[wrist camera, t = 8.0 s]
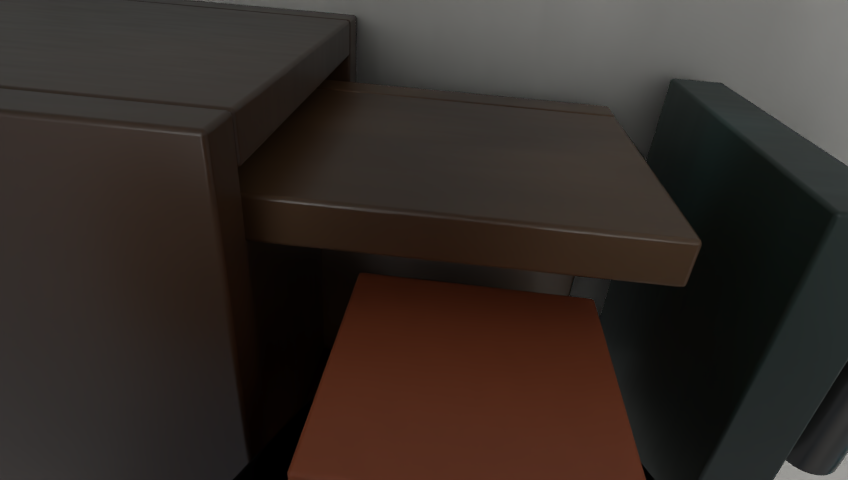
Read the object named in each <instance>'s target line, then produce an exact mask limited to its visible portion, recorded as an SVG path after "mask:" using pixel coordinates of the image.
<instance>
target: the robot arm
mask: <svg viewBox="0 0 848 480" xmlns="http://www.w3.org/2000/svg"><path fill="white" fill-rule="evenodd" d="M315 394H316V393H315ZM315 394H314V395H313V396H312V397H311V398H310V399H309V401H308V402H307V403H306V404H305V405H304V406H303V407H302V408H301V409H300V410H299V411H298V412H297V413H296V414H295V415H294V416H293V417H292V418H291V419H290V420H289V421H288V422H287V423H286V425H285V426H284V427H283V428H282V429H281V430H280V431H279V432H278V433H277V434H276V435H275V436H274V437H273V438H272V439H271V440H270V441H269V442H268V443H267V444H266V445H265V446H264V447H263V449H262V450H261V451H260V452H259V453H258V454H257V455H256V456H255V457H254V458H253V459H252V460H251V461H250V462H249V463H248V464H247V465H246V466H245V467H244V468H243V469H242V470H241V471H240V473H239V474H238V475H237V476H236V477H235V478H234V479H233V480H288V474H287V472H288V469H289V467H290V464H291V461H292V458H293V455H294V453H295V450H296V447H297V444H298V442H299V439H300V436H301V433H302V430H303V428H304V425H305V422H306V419H307V417H308V414H309V411H310V408H311V405H312V403H313V400H314V397H315ZM641 464H642V463H641ZM642 468H643V471H644V475H645V478H646V480H654V478H653V477H652V476H651V474H650V473H649V472H648V471H647V469H646V468H645V467H644V466H643V464H642Z"/></svg>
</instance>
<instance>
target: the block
mask: <svg viewBox="0 0 848 480" xmlns="http://www.w3.org/2000/svg"><path fill="white" fill-rule="evenodd" d="M287 474H288V480H646V478H645V475H644V471H643V468H642V464H641V461H640V457H639V454H638V450H637V447H636V443H635V440H634V437H633V433H632V430H631V426H630V423H629V419H628V416H627V412H626V409H625V405H624V402H623V399H622V395H621V392H620V388H619V385H618V381H617V378H616V374H615V371H614V367H613V364H612V361H611V357H610V354H609V350H608V347H607V343H606V340H605V336H604V333H603V329H602V326H601V323H600V319H599V316H598V312H597V309H596V305H595V302H594V300H593V299H589V298H581V297H572V296H563V295H554V294H546V293H537V292H528V291H520V290H511V289H502V288H493V287H485V286H476V285H467V284H459V283H450V282H441V281H432V280H424V279H415V278H406V277H398V276H389V275H380V274H371V273H360V274H359V275H358V278H357V281H356V283H355V286H354V289H353V292H352V294H351V297H350V300H349V303H348V306H347V308H346V311H345V314H344V317H343V319H342V322H341V325H340V328H339V331H338V333H337V336H336V339H335V342H334V344H333V347H332V350H331V353H330V356H329V358H328V361H327V364H326V367H325V369H324V372H323V375H322V378H321V381H320V383H319V386H318V389H317V392H316V394H315V397H314V400H313V403H312V405H311V408H310V411H309V414H308V417H307V419H306V422H305V425H304V428H303V430H302V433H301V436H300V439H299V442H298V444H297V447H296V450H295V453H294V455H293V458H292V461H291V464H290V467H289V469H288V472H287Z"/></svg>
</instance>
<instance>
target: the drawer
mask: <svg viewBox="0 0 848 480" xmlns="http://www.w3.org/2000/svg"><path fill="white" fill-rule="evenodd" d="M238 176H239V185H240V194H241V203H242V212H243V221H244V230H245V239H246V248H247V257H248V266H249V275H250V284H251V293H252V303H253V312H254V321H255V330H256V339H257V348H258V357H259V366H260V375H261V384H262V393H263V402H264V411H265V420H266V429H267V438H268V442H269V441H270V440H271V439H272V438H273V437H274V436H275V435H276V434H277V433H278V432H279V431H280V430H281V429H282V428H283V427H284V426H285V425H286V423H287V422H288V421H289V420H290V419H291V418H292V417H293V416H294V415H295V414H296V413H297V412H298V411H299V410H300V409H301V408H302V407H303V406H304V405H305V404H306V403H307V402H308V401H309V399H310V398H311V397H312V396H313V395H314V394H315V393H316V392H317V389H318V386H319V383H320V381H321V378H322V375H323V372H324V369H325V367H326V364H327V361H328V358H329V356H330V353H331V350H332V347H333V344H334V342H335V339H336V336H337V333H338V331H339V328H340V325H341V322H342V319H343V317H344V314H345V311H346V308H347V306H348V303H349V300H350V297H351V294H352V292H353V289H354V286H355V283H356V281H357V278H358V275H359V274H360V273H371V274H380V275H389V276H398V277H406V278H415V279H424V280H432V281H441V282H450V283H459V284H467V285H476V286H485V287H493V288H502V289H511V290H520V291H528V292H537V293H546V294H554V295H563V296H569V295H570V291H571V288H572V284H573V280H574V276H581V277H590V278H599V279H609V280H611V281H610V285H609V288H608V291H607V295H606V298H605V301H604V305H603V308H602V311H601V315H600V318H599V319H600V323H601V326H602V329H603V333H604V336H605V340H606V343H607V347H608V350H609V354H610V357H611V361H612V364H613V367H614V371H615V374H616V378H617V381H618V385H619V388H620V392H621V395H622V399H623V402H624V405H625V409H626V412H627V416H628V419H629V423H630V426H631V430H632V433H633V437H634V440H635V443H636V447H637V450H638V454H639V457H640V461H641V463H642V464H643V466H644V467H645V468H646V469H647V471H648V472H649V473H650V474H651V476H652V477H653V478H654V480H773V479H774V478H775V476H776V474H777V473H778V471H779V470H780V468H781V466H782V465H783V463H784V462H785V460H786V461H788V462H789V463H790V464H792V465H793V466H795V467H796V468H798V469H800V470H802V471H805V472H807V473H810V474H814V475H828V474H831V473H833V472H834V471H835V470H836V469H837V467H838V466H839V465H840V463H841V462H842V460H843V459H844V458H845V456H846V455H847V453H848V166H846V165H845V164H843V163H842V162H840V161H839V160H837V159H836V158H834V157H833V156H831V155H830V154H828V153H827V152H825V151H824V150H822V149H821V148H819V147H818V146H816V145H815V144H813V143H812V142H810V141H809V140H807V139H805V138H804V137H802V136H801V135H799V134H798V133H796V132H795V131H793V130H792V129H790V128H789V127H787V126H786V125H784V124H783V123H781V122H780V121H778V120H777V119H775V118H774V117H772V116H771V115H769V114H768V113H766V112H765V111H763V110H762V109H760V108H759V107H757V106H756V105H754V104H753V103H751V102H749V101H748V100H746V99H745V98H743V97H742V96H740V95H739V94H737V93H736V92H734V91H733V90H731V89H730V88H728V87H727V86H725V85H724V84H722V83H717V82H706V81H695V80H684V79H671V81H670V84H669V87H668V91H667V94H666V97H665V101H664V104H663V107H662V111H661V114H660V117H659V121H658V124H657V127H656V131H655V134H654V137H653V141H652V144H651V147H650V151H649V154H648V158H647V161H645V159H644V158H643V156H642V155H641V153H640V152H639V151H638V149H637V148H636V146H635V145H634V144H633V142H632V141H631V139H630V138H629V136H628V135H627V134H626V132H625V131H624V129H623V128H622V126H621V125H620V124H619V122H618V121H617V119H616V118H615V116H614V115H613V113H612V112H611V110H610V109H609V107H607V106H598V105H587V104H577V103H566V102H556V101H545V100H535V99H524V98H514V97H503V96H493V95H482V94H472V93H461V92H450V91H440V90H429V89H419V88H408V87H398V86H387V85H377V84H366V83H356V82H345V81H335V80H324V81H323V82H322V83H321V84H320V85H319V86H318V87H317V88H316V89H315V90H314V91H313V92H312V93H311V94H310V95H309V96H308V97H307V98H306V99H305V101H304V102H303V103H302V104H301V105H300V106H299V107H298V108H297V109H296V110H295V111H294V112H293V113H292V114H291V115H290V116H289V117H288V118H287V119H286V120H285V121H284V122H283V123H282V124H281V125H280V126H279V127H278V128H277V129H276V130H275V131H274V132H273V133H272V134H271V135H270V136H269V137H268V138H267V140H266V141H265V142H264V143H263V144H262V145H261V146H260V147H259V148H258V149H257V150H256V151H255V152H254V153H253V154H252V155H251V156H250V157H249V158H248V159H247V160H246V161H245V162H244V163H243V164H242V165H241V166H239V167H238Z"/></svg>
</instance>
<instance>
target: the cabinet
mask: <svg viewBox="0 0 848 480" xmlns="http://www.w3.org/2000/svg"><path fill="white" fill-rule="evenodd" d="M324 80H335V81H345V82H356V16H354V15H346V14H334V13H323V12H312V11H301V10H290V9H279V8H268V7H257V6H246V5H235V4H224V3H213V2H202V1H191V0H0V480H233V479H234V478H235V477H236V476H237V475H238V474H239V473H240V471H241V470H242V469H243V468H244V467H245V466H246V465H247V464H248V463H249V462H250V461H251V460H252V459H253V458H254V457H255V456H256V455H257V454H258V453H259V452H260V451H261V450H262V449H263V447H264V446H265V445H266V444H267V443H268V438H267V429H266V420H265V411H264V402H263V393H262V384H261V375H260V366H259V357H258V348H257V339H256V330H255V321H254V312H253V303H252V293H251V284H250V275H249V266H248V257H247V248H246V239H245V230H244V221H243V212H242V203H241V194H240V185H239V176H238V167H239V166H241V165H242V164H243V163H244V162H245V161H246V160H247V159H248V158H249V157H250V156H251V155H252V154H253V153H254V152H255V151H256V150H257V149H258V148H259V147H260V146H261V145H262V144H263V143H264V142H265V141H266V140H267V138H268V137H269V136H270V135H271V134H272V133H273V132H274V131H275V130H276V129H277V128H278V127H279V126H280V125H281V124H282V123H283V122H284V121H285V120H286V119H287V118H288V117H289V116H290V115H291V114H292V113H293V112H294V111H295V110H296V109H297V108H298V107H299V106H300V105H301V104H302V103H303V102H304V101H305V99H306V98H307V97H308V96H309V95H310V94H311V93H312V92H313V91H314V90H315V89H316V88H317V87H318V86H319V85H320V84H321V83H322V82H323V81H324Z"/></svg>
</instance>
